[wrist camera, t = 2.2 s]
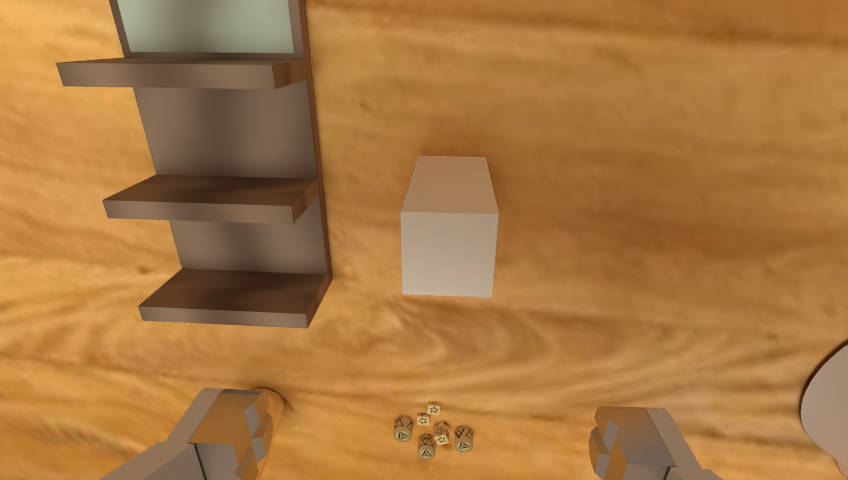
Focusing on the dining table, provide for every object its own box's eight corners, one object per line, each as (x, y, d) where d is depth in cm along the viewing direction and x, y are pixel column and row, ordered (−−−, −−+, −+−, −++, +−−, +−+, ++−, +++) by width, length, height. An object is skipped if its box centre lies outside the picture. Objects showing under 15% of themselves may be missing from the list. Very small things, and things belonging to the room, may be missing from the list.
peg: (485, 156, 26) (498, 214, 18) (481, 219, 27) (491, 297, 19) (418, 155, 26) (400, 211, 18) (418, 217, 28) (402, 293, 19)
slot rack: (295, -89, 21) (245, -127, 16) (332, 279, 30) (307, 328, 25) (99, -87, 22) (-7, -122, 17) (193, 273, 31) (142, 320, 26)
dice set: (475, 428, 36) (476, 448, 35) (425, 449, 38) (423, 469, 36) (442, 389, 35) (442, 408, 33) (391, 412, 36) (388, 431, 34)
